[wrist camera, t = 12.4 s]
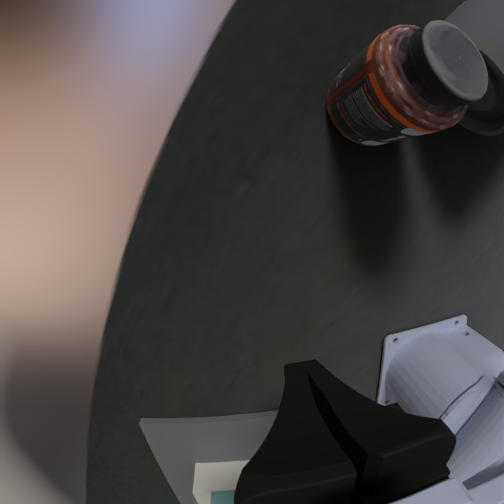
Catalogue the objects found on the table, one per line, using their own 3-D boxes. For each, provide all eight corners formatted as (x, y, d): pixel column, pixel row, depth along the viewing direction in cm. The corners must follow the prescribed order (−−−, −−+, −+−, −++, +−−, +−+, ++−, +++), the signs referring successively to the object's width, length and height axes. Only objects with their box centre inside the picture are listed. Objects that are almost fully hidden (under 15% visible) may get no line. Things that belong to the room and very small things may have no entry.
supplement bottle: (381, 162, 20) (491, 152, 9) (311, 122, 20) (385, 66, 9) (405, 98, 19) (506, 58, 8) (340, 58, 19) (416, -20, 8)
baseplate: (357, 394, 25) (360, 399, 24) (344, 484, 28) (345, 488, 27) (141, 418, 24) (139, 423, 23) (183, 501, 27) (182, 506, 27)
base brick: (276, 456, 25) (281, 487, 21) (280, 494, 27) (284, 520, 23) (195, 462, 25) (192, 492, 21) (211, 499, 26) (210, 525, 22)
